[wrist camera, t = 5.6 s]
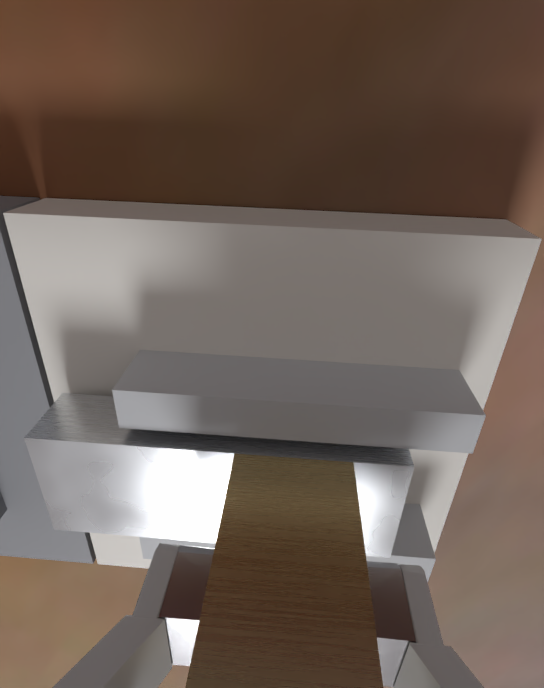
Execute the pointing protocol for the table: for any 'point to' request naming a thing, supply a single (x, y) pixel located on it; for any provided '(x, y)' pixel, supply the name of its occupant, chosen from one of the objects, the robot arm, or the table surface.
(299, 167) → the table surface
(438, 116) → the table surface
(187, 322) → the plate
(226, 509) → the bolt
